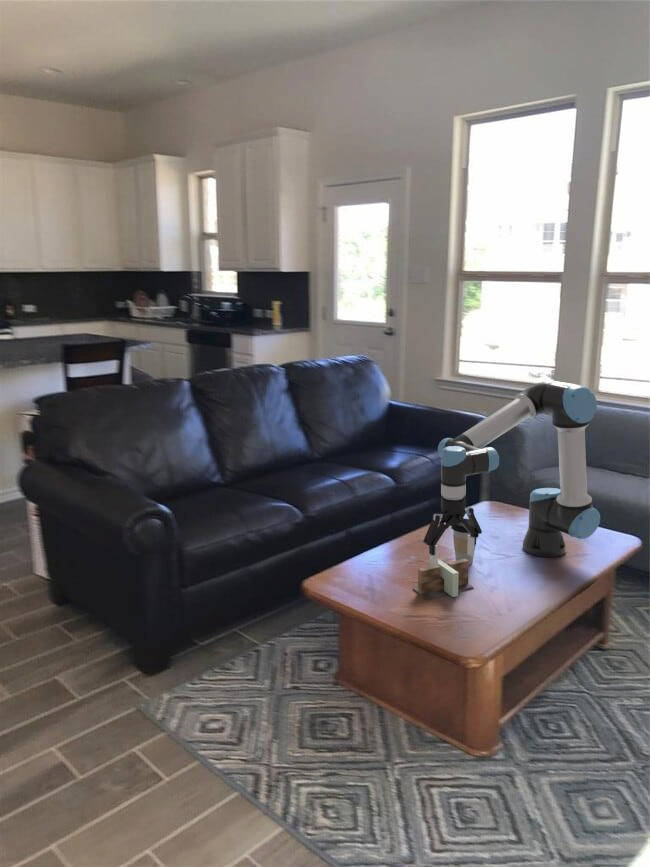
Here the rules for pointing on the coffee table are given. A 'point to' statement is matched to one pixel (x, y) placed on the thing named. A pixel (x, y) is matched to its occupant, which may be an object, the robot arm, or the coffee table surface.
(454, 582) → the pale green upright panel
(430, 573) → the brown piece
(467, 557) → the coffee cup
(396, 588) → the coffee table surface
